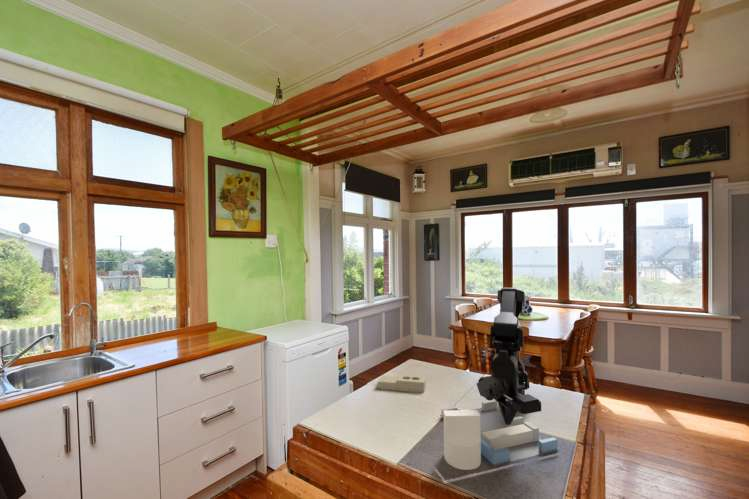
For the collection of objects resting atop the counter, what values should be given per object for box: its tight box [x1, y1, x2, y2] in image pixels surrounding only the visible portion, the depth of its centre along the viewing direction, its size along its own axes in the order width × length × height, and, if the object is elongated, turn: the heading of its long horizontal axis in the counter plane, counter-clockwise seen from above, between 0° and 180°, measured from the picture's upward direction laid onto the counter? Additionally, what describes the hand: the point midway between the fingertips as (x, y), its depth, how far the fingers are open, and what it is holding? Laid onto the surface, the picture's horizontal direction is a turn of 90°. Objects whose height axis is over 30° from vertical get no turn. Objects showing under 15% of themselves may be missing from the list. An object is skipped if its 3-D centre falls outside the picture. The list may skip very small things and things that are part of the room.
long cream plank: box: [482, 420, 540, 450], centre depth 90 cm, size 16×4×3 cm, turn 108°
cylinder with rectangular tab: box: [443, 409, 482, 471], centre depth 83 cm, size 9×9×12 cm
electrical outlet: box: [377, 374, 426, 393], centre depth 131 cm, size 7×4×18 cm
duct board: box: [439, 399, 559, 467], centre depth 96 cm, size 20×27×4 cm
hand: (507, 424), depth 90 cm, fingers closed
